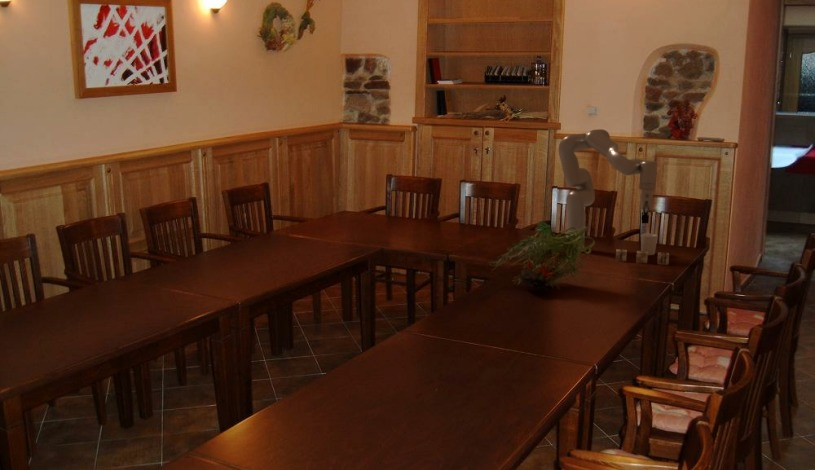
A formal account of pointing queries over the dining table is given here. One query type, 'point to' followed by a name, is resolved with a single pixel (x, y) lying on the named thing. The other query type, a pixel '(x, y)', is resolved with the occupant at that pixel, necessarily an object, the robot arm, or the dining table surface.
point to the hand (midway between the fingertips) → (644, 221)
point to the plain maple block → (642, 256)
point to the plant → (549, 256)
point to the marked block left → (621, 255)
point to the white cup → (648, 243)
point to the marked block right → (663, 258)
